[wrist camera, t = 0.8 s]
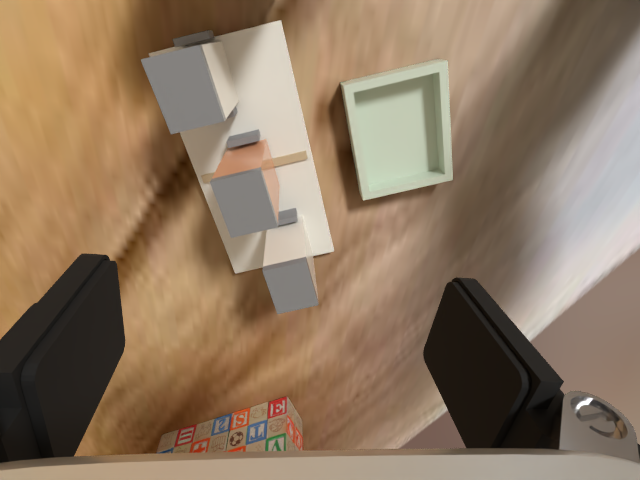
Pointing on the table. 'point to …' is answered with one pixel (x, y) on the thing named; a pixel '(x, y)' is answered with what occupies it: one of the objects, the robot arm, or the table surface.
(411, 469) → the robot arm
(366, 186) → the tray
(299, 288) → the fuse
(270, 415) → the stack of blocks
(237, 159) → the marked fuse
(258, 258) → the board
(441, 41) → the table surface
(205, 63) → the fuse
